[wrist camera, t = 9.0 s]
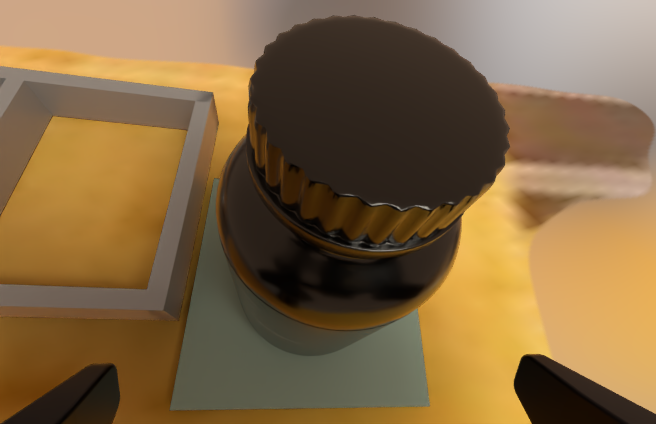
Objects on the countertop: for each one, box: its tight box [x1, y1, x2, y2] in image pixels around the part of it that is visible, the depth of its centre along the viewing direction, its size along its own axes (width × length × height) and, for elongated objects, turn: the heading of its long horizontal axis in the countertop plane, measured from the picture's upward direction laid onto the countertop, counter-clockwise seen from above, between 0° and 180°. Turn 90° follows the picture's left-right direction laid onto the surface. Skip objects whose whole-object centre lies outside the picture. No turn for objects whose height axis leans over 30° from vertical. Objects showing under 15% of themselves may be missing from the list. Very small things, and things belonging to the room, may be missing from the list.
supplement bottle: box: [216, 15, 510, 356], centre depth 11 cm, size 7×7×12 cm
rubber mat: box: [170, 178, 430, 410], centre depth 16 cm, size 11×11×1 cm
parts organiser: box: [0, 66, 219, 321], centre depth 15 cm, size 12×17×2 cm
